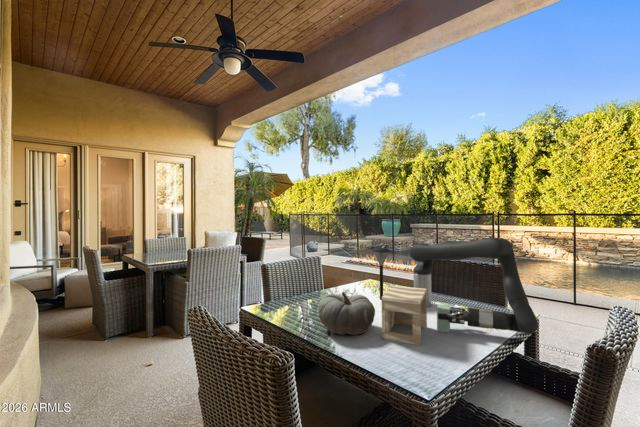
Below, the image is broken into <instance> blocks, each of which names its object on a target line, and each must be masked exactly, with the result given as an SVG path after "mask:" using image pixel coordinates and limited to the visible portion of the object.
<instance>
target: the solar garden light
mask: <svg viewBox="0 0 640 427" xmlns="http://www.w3.org/2000/svg"><path fill="white" fill-rule="evenodd" d="M371 252H372V253H374V256H375V258H376V260H377V263H378V265H379V300H381V301H382V296H383V295H384V264H385V261H386V259H387V257H388V255H389V253H391V252H392V250H391V249H390V248H387V247H381V246H377V247H375V248H373V249H371V250H370V253H371Z"/></svg>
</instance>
